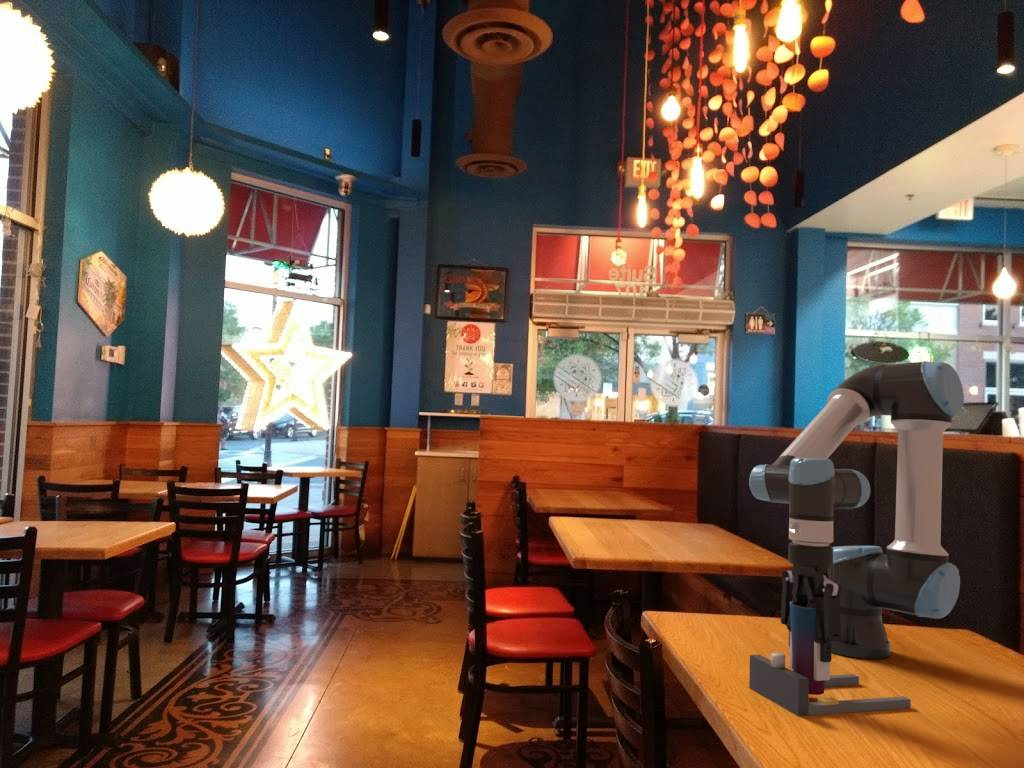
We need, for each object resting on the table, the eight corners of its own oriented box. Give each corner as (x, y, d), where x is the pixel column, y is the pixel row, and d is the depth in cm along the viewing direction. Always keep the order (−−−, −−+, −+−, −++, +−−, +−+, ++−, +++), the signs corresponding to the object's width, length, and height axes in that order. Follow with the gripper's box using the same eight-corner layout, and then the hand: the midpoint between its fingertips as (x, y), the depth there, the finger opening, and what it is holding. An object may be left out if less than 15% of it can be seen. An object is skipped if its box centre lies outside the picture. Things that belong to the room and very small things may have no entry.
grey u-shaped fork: (853, 681, 143) (853, 639, 143) (910, 708, 129) (910, 661, 130) (748, 688, 136) (748, 643, 137) (797, 716, 123) (797, 667, 123)
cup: (833, 698, 128) (834, 610, 129) (792, 694, 129) (793, 607, 130) (825, 686, 134) (825, 602, 135) (785, 682, 136) (786, 599, 137)
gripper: (761, 535, 142) (759, 658, 140) (829, 551, 124) (827, 692, 122) (794, 536, 144) (793, 657, 142) (866, 551, 126) (865, 690, 124)
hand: (809, 673), depth 132 cm, fingers closed on cup, 6 cm apart
